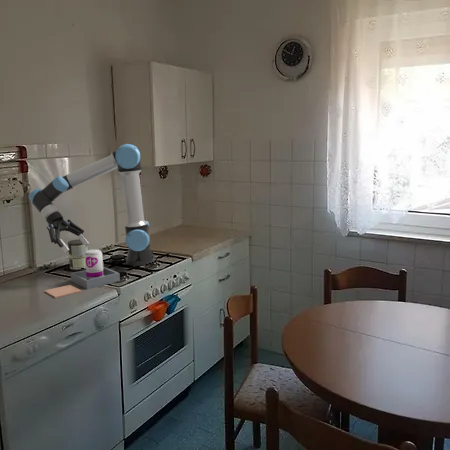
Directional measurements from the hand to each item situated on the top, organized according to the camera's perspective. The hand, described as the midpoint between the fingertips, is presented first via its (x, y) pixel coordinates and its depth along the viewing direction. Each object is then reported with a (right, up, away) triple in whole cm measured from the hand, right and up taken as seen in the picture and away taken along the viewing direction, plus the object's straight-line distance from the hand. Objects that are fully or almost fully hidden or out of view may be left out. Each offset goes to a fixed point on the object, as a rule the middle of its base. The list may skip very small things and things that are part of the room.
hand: (77, 248), depth 231 cm
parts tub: (+9, -16, -1) cm, 18 cm away
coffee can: (-7, -11, +25) cm, 29 cm away
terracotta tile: (-2, -19, -15) cm, 25 cm away
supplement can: (+9, -16, -1) cm, 18 cm away
